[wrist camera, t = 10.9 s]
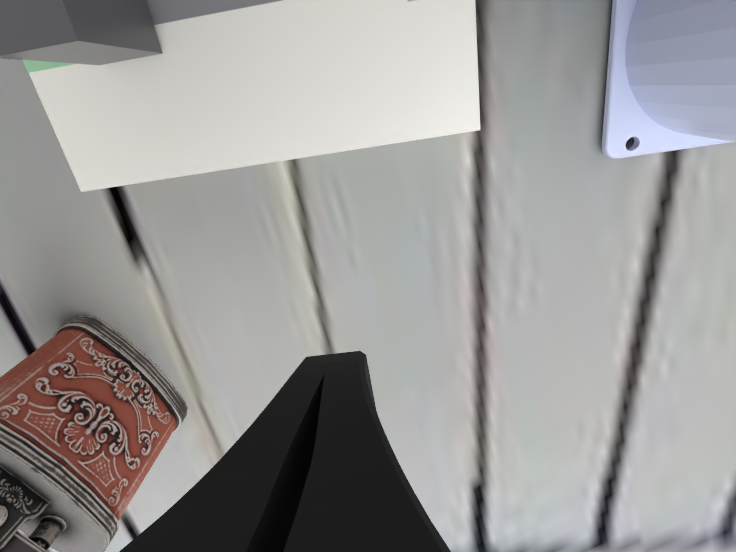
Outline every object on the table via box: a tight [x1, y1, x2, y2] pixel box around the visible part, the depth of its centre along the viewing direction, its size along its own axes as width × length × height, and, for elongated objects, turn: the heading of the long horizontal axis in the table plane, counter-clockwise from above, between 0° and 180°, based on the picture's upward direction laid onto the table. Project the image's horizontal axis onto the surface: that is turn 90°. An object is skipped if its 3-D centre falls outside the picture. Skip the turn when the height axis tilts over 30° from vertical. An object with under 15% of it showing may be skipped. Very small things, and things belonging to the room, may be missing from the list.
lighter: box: [0, 315, 187, 552], centre depth 18 cm, size 8×3×10 cm, turn 32°
